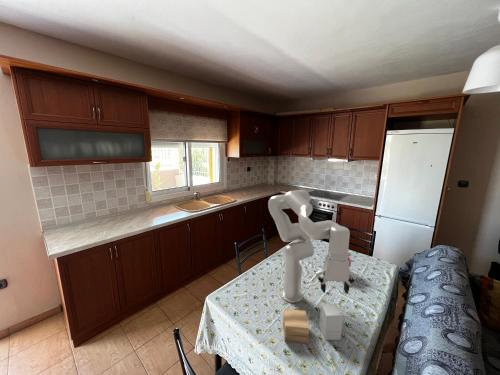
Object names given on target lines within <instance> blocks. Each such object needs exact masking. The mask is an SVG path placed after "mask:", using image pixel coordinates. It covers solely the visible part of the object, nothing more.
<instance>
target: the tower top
mask: <svg viewBox="0 0 500 375" xmlns="http://www.w3.org/2000/svg"><path fill="white" fill-rule="evenodd" d="M283 317H284V326H285V334H290V335H300V336H310V335H309V334H310V325H309V322H308V316H307V311H306V310H303V309H291V308H284V309H283Z"/></svg>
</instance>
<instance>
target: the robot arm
mask: <svg viewBox="0 0 500 375" xmlns="http://www.w3.org/2000/svg"><path fill="white" fill-rule="evenodd" d="M310 201H311V195H310V193H309V192H308V191H307V190H305V189H298V190H290V191H288V192H286V193H284V194H277V195H274V196H273V195H272V196H271V197H270V198H269V200H268V203H267V206H268V207H267V208H268V211H269V213H270V215H271V217H272V218H273V221H274V223H275V225H276V228H277V232H278V234H279V236H280V239H281V241H283V242H284V243H288V242H292V243H289V244H287V245H284V246H285V247H284V248H283V257H284V258H283V259H284V269H283V270H284V271H283V272H284V274H283V288H281V289H280V297H281V298H282V299H283V300H284V301H286V302H288V303H293V304H294V303H295V304H297V303H300V302H301V301H302V300H303V297H304V294H303V292H302V290H301V288H302V287H301V286H302V273H303V272H302V271H303V268H302V265H301V263H300V261H302V260H305V259H308V258H311V257H312V256H313V255H314V253H315V248H314V245H313V242H312V240H313V241H321V240H324V239H325V240H326V239H329V242H328V253H327V255H326V256H325V257H324V258H325V259H324V262H323V268H322V269H320V270H318V271H315V277H317V280H318V281H319V282H320V290H322V292H323V294H326V290H327V289H326V288H327V285H326V283H327V282H344V283H343V291H344V292H345V294H346V295H348V294H349V291H350V287H351V285H352V284H353V283H355V280H356V279H357V278H358V275H357V274H356V273H354V272H353V271H351V270H350V268H351V266H350V267H349V260H348V257H351V256H352V253H351V252H349V247H350V246H349V245H350V236H351V233H350V229H349V228H348V227H346V226H344V225H340V224H339V223H337V222H335V221H333V220H332V219H331V220H330V219H329V220H324V221H323V220H321V221H317V222H314V221H312V219H310V215H311V214H312V212H313V208H314V207H313V204H311V203H310ZM286 209H287V210H288V209H291V211H293V212H294V213H295V214H296V215H297V216H298V222H295V223H292V222H291V220H290V217H289V215H288V214H286V212H284V211H283V210H286ZM294 241H296V242H294ZM321 275H322V277H321ZM350 276H351V277H350Z"/></svg>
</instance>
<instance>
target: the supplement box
mask: <svg viewBox="0 0 500 375" xmlns="http://www.w3.org/2000/svg"><path fill="white" fill-rule="evenodd" d="M319 311H320V314H319V325H318V326H319V329H320V331H321V333H322V336H323V338H324V341H336V340H337V341H339V340H341V339H342V332H343V330H342V329H343V322H344V314H343V313H342V311H341V308H339V306H338V304H337V303H335V302H334V303H320V310H319Z"/></svg>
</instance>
